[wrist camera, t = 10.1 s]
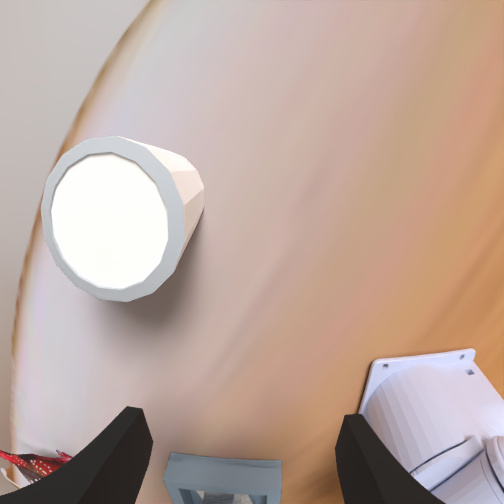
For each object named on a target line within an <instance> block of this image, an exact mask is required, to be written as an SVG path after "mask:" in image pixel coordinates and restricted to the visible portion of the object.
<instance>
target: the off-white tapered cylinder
mask: <svg viewBox="0 0 504 504" xmlns="http://www.w3.org/2000/svg"><path fill="white" fill-rule="evenodd" d="M203 209H204V186H203V184H202V181H201V179H200V176H199V174H198V172H197V170H196V169H195V168H194V167H193V166H192V165H191V164H190V163H189V162H188V161H187V160H186V159H185V158H184V157H183V156H180V155H178V154H175V153H172V152H170V151H167V150H164V149H161V148H158V147H154V146H151V145H147V144H144V143H140V142H137V141H133V140H130V139H126V138H123V137H119V136H107V137H99V138H90V139H86V140H84V141H83V142H81V143H80V144H78V145H77V146H75V147H74V148H72V149H71V150H69V151H68V152H66V153H65V154H63V155H62V157H61V158H60V160H59V161H58V163H57V164H56V166H55V167H54V169H53V170H52V172H51V174H50V175H49V177H48V178H47V181H46V186H45V190H44V195H43V200H42V205H41V215H42V224H43V232H44V239H45V241H46V243H47V245H48V248H49V250H50V252H51V254H52V257H53V259H54V261H55V263H56V265H57V266H58V267H59V268H60V270H61V271H62V272H63V273H64V274H65V275H66V276H67V277H68V278H69V279H70V281H71V282H72V283H73V284H74V285H75V286H76V287H78V288H80V289H82V290H84V291H86V292H87V293H89V294H91V295H93V296H95V297H97V298H99V299H102V300H112V301H121V302H129V301H132V300H135V299H138V298H140V297H143V296H146V295H149V294H152V293H154V292H155V291H156V290H157V289H158V288H159V287H160V286H161V285H162V284H163V283H164V282H165V281H166V280H167V279H168V278H169V277H170V276H171V275H172V274H173V273H174V271H175V269H176V266H177V264H178V262H179V260H180V258H181V256H182V254H183V252H184V250H185V248H186V246H187V244H188V242H189V240H190V238H191V236H192V234H193V232H194V230H195V228H196V226H197V224H198V221H199V219H200V216H201V214H202V211H203Z"/></svg>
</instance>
